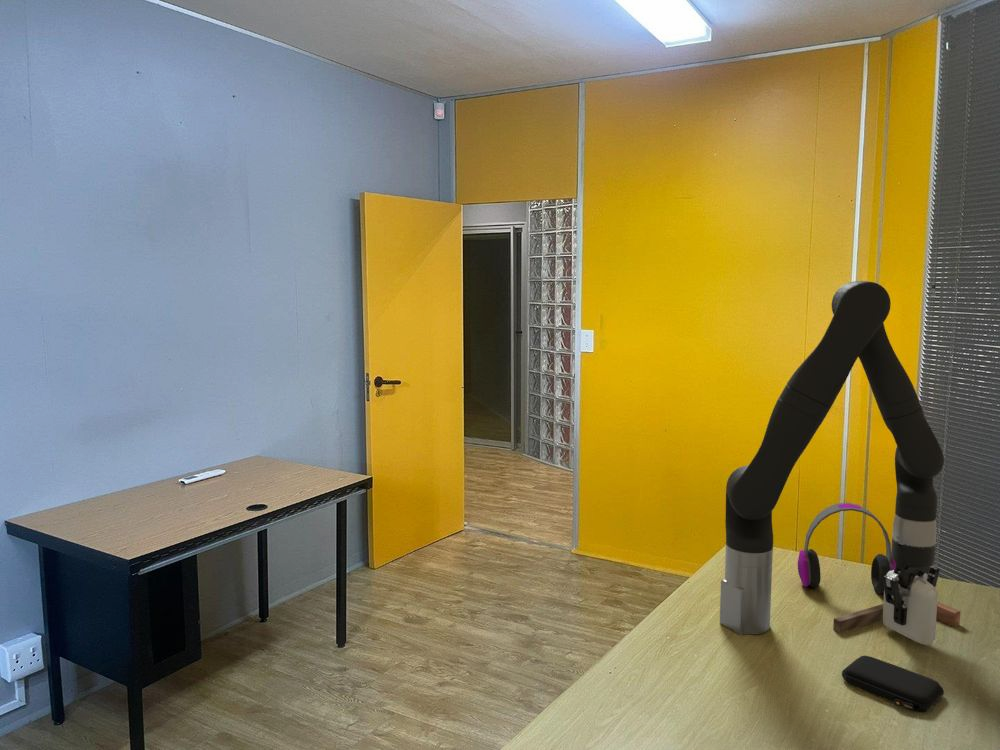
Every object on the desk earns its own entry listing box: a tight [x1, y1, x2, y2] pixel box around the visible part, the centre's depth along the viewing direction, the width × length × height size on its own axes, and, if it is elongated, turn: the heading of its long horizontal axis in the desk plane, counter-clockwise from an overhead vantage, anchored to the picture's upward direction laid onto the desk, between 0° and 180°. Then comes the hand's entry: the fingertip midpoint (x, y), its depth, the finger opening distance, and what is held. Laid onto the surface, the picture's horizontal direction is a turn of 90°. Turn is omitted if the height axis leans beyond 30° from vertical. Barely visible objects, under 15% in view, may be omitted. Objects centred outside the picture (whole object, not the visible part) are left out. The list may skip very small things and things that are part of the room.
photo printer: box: [882, 570, 939, 646], centre depth 147 cm, size 10×4×12 cm, turn 20°
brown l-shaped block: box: [832, 601, 961, 634], centre depth 153 cm, size 25×10×3 cm, turn 116°
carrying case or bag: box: [841, 655, 945, 713], centre depth 131 cm, size 11×3×15 cm
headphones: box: [797, 502, 896, 594], centre depth 171 cm, size 21×9×20 cm, turn 77°
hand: (908, 620), depth 148 cm, fingers closed on photo printer, 4 cm apart
